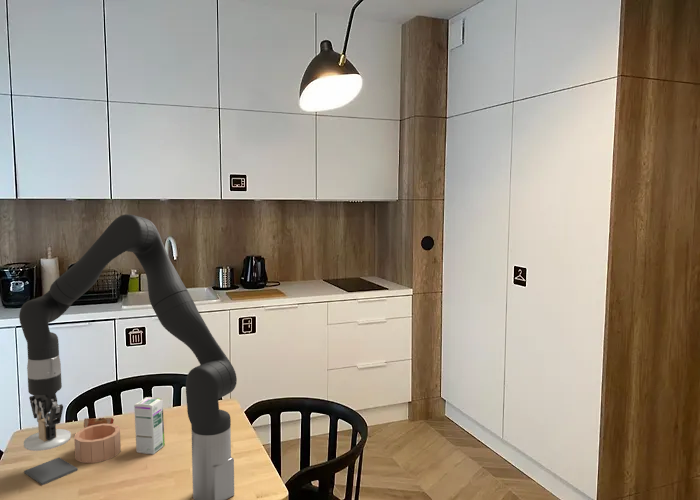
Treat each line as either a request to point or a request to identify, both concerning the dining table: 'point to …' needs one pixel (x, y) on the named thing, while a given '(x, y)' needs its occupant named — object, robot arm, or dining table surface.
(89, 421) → the fruit slice
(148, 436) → the syrup box
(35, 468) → the mat
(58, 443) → the lid
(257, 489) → the dining table surface
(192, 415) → the robot arm
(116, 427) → the bowl
